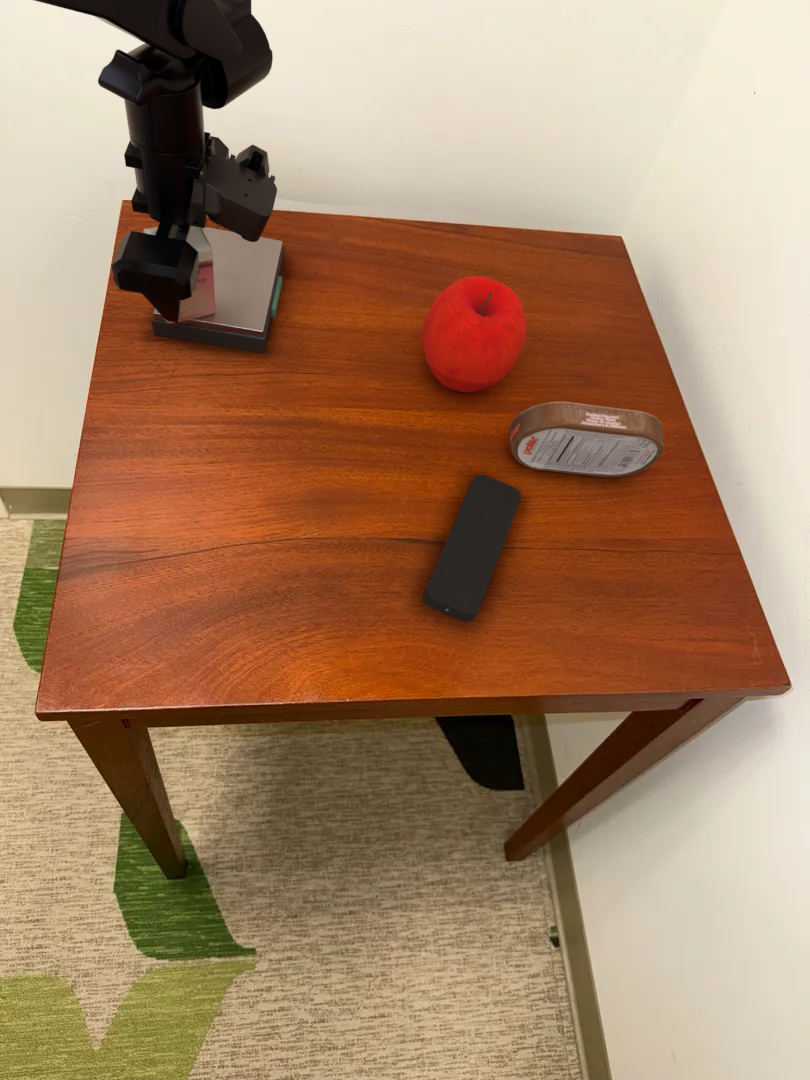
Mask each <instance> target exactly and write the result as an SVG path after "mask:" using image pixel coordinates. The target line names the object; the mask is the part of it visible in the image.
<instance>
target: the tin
mask: <svg viewBox="0 0 810 1080" xmlns="http://www.w3.org/2000/svg"><path fill="white" fill-rule="evenodd" d="M663 427H664V426H663V424H662V422H661V420H660V419H659V418H658V417H656V416H655V415H654V414H651V413H649V412H646V411H642V410H635V409H629V408H628V409H626V408H620V407H611V406H603V405H595V404H586V403H579V402H571V401H564V400H563V401H562V400H560V401H559V400H558V401H547V402H542V403H538V404H535V405H532V406H529V407H527V408H526V409H523V410H522V411H520V412H519V413H518V414H516V416H514V418H513V419H512V420H511V422H510V424H509V426H508V436H509V444H510V452H511V454H512V456H513V458H514V459H515V461H516V462H517V463H519V464H520V465H522V466H524V467H526V468H528V469H530V470H535V471H541V472H542V471H544V472H552V473H562V474H569V475H578V476H579V475H580V476H589V477H597V478H598V477H599V478H608V479H609V478H611V479H612V478H623V477H629V476H633V475H636V474H639V473H641V472H644V471H646V470H648V469H649V468H650V467H651V466H652V465H654V464H655V463H656V462H657V461H658V460H659V459H660V458H661V456H663V453H664V451H665V441H664V434H663V431H664V428H663Z"/></svg>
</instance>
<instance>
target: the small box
mask: <svg viewBox="0 0 810 1080" xmlns="http://www.w3.org/2000/svg"><path fill="white" fill-rule="evenodd" d="M157 229H158V226H154V227H149V228H144V229H143V233H146V234H152V235H155V234H156V232H157ZM187 242H188V243H189V244H190V245H191V246H192V247H193V248H195V249H196V250H197V251H198V256H199V267H198V271H199V274H198V278H197V281H196V285H195V288H194V291H193V293H192V297H190V298H188V299H185V300H181V306H180V313H179V319H178V322H180V321H185V320H189V319H194V318H198V317H202V316H206V315H210V314H214V313H215V293H214V274H213V251H212V247H211V245H210V243H209V241H208V239H207V237H206V236H205V234H204V232H203V230H202V228H201V227H195V226H191V230H190V233H189V236H188V239H187ZM166 322H167V323H168V324H171V323H176V322H171V321H167V320H166Z"/></svg>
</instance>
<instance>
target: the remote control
mask: <svg viewBox="0 0 810 1080" xmlns="http://www.w3.org/2000/svg"><path fill="white" fill-rule="evenodd" d="M521 499H522V493H521V492H520V490H519V489H518V488H516V487H514V486H512V485H510V484H509V483H508V484H507V483H506V482H504V481H501V480H499V479H496V478H495V477H491V476H489V475H487V474H477V475H475V477H473V479H472V481H471V483H470V484H469V488H468V490H467V492H466V494H465V497H464V499H463V501H462V504H461V506H460V508H459V511H458V513H457V515H456V518H455V520H454V521H453V525H452V527H451V530H450V531H449V533H448V537H447V539H446V541H445V543H444V546H443V548H442V550H441V552H440V555H439V556H438V557H439V558H438V560H437V562H436V565H435V567H434V569H433V571H432V574H431V577H430V578H429V581H428V583H427V586H426V588H425V590H424V593H423V598H422V599H423V601H424V603H425V604H426V606H428V607H429V608H430V609H433V610H436V611H438V612H441V613H443V614H444V615H448V616H449V617H452V618H453V619H457V620H458V621H461V622H466V623H469V622H472V621H474V620H475V619H476V618H477V615H478V613H479V611H480V609H481V605H482V603H483V600H484V598H485V595H486V592H487V590H488V587H489V584H490V582H491V579H492V576H493V574H494V571H495V568H496V565H497V563H498V561H499V557H500V555H501V553H502V549H503V547H504V544H505V542H506V539H507V536H508V533H509V530H510V528H511V526H512V523H513V520H514V518H515V515H516V512H517V509H518V506H519V504H520V501H521Z"/></svg>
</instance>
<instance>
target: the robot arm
mask: <svg viewBox="0 0 810 1080" xmlns="http://www.w3.org/2000/svg"><path fill="white" fill-rule="evenodd" d="M33 1H35V2H38V3H43V4H46V5H50V6H54V7H56V8H57V7H58V8H61V9H66V10H69V11H73V12H77V13H81V14H84V15H89V16H93V17H95V18H97V19H98V20H100V21H102V22H104V23H106V24H107V25H109V26H111V27H113V28H115V29H117V30H119V31H120V32H123V33H124V34H127V35H129V36H130V37H133V38H134V39H136V40H138V41H140V42H142V44H141V45H139V46H137V47H136V48H134V49H132V50H130V51H128V52H125V51H123V50H121V49H116V50H115V51H114V55H113V57H112V59H111V60H110V62H109V63H107V65H105V66H104V67H103V68H102V69H101V72H100V74H99V76H98V77H97V83H98V85H99V86H100V87H101V88H102V89H105V90H106V91H108V92H110V93H112V94H114V95H115V96H117V97H119V98H121V99H123V100H124V108H125V114H126V115H125V116H126V121H127V127H128V128H127V129H128V134H129V141H128V143H127V147H126V149H125V151H124V154H123V157H124V163H125V167H128V168H132V169H134V175H135V182H136V187H135V190H134V192H133V195H132V198H131V200H130V202H131V208H132V212H134V213H140V214H144V215H145V214H146V215H148V217H149V218H150V219H151V220H153V221H155V222H158V226H157V227H158V229H157V232H156V234H155V235H152V234H146V233H144V232H139V231H134V230H130V231H129V232H128V233H126V234H125V235H124V236H122V237H120V240H119V244H118V246H117V248H116V251H115V254H114V257H113V260H112V262H111V264H110V267H111V273H112V277H113V284H114V285H115V286H116V287H117V288H118V289H119V290H121V291H126V292H131V293H137V294H141V295H142V296H143V297H144V298H145V299H146V300H147V301H148V302H149V303H150V305H152V307H153V308H154V310H155V309H156V310H157V311H158V312H159V313H160V314H161V315H162V316H163V317H164V319H165V320H167V321H171V322H178V319H179V313H180V306H181V300H185V299H188V298H190V297H192V293H193V291H194V288H195V285H196V281H197V278H198V274H199V271H198V267H199V256H198V251H197V250H196V249H195V248H193V247H192V246H191V245H190V244H189V243H188V242H187V239H188V236H189V233H190V230H191V226H195V227H201V228H202V230H203V228H205V227H207V226H206V225H207V223H208V219H209V220H210V221H211V222H213V223H214V224H216V225H218V226H220V227H222V228H224V229H226V230H227V231H231V232H234V233H237V234H239V235H240V236H241V237H242V238H243V239H245V240H247V241H250V242H256V241H258V240H259V238H260V237H262V234H263V232H264V231H265V228H266V227H267V225H268V223H269V220H270V218H271V216H272V214H273V210H274V206H275V203H276V202H275V201H276V197H277V194H278V188H277V185H276V183H275V182H276V176H275V175H273V174H271V175H269V173H270V164H269V155H268V151H266V150H264V149H262V148H261V147H259V146H257V145H255V144H250V145H249V146H248V147H246V148H244V149H243V150H241V151H240V152H239V153H238V154H237V155H235V154H233V153H231V154H230V149H229V147H228V146H227V145H226V144H225V143H224V141H222V139H220V137H217V136H213V135H211V132H207V131H205V121H204V108H208V109H210V110H221V109H222V108H224V107H226V106H227V105H229V104H231V103H232V102H233V101H234V100H236V99H238V98H239V97H240V96H242V95H244V94H245V93H246V92H248V91H249V90H251V89H252V88H253V87H255V86H256V85H258V84H259V83H261V82H262V81H264V80H265V79H266V78H267V77H268V76H269V74H270V72H271V70H272V67H273V61H274V60H273V59H274V58H273V56H274V55H273V50H272V49H271V46H270V42H269V40H268V36H267V34H266V32H265V30H264V28H263V26H262V25H261V23H260V21H258V20H257V18H256V17H255V16H254V15H253V14H252V0H33ZM207 218H208V219H207Z"/></svg>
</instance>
